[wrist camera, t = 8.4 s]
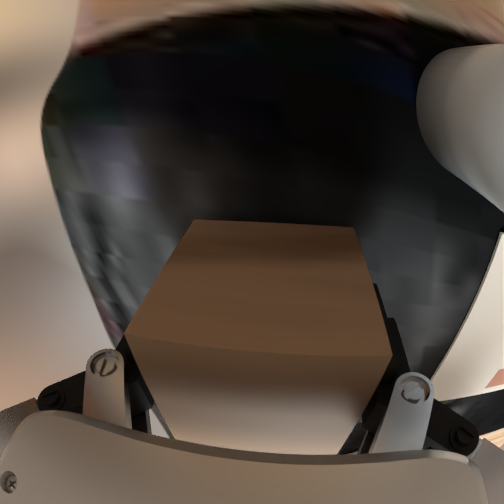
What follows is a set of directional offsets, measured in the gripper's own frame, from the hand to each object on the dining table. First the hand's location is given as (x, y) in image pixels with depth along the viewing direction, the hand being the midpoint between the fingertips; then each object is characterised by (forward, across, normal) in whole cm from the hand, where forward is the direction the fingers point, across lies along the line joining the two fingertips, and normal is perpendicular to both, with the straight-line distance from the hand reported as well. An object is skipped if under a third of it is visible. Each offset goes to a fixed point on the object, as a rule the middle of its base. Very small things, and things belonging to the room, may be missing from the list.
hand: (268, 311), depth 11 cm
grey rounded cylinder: (+2, -8, -8) cm, 12 cm away
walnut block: (+2, 0, 0) cm, 2 cm away
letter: (+2, -16, +4) cm, 17 cm away
